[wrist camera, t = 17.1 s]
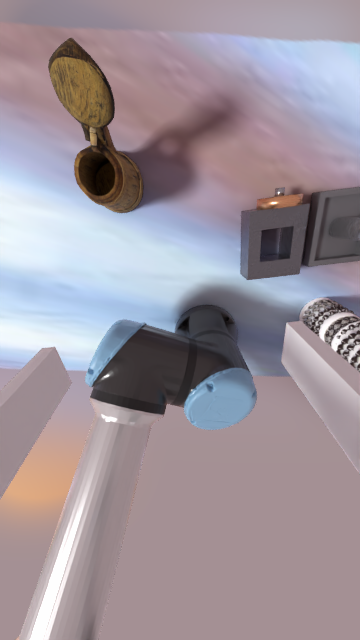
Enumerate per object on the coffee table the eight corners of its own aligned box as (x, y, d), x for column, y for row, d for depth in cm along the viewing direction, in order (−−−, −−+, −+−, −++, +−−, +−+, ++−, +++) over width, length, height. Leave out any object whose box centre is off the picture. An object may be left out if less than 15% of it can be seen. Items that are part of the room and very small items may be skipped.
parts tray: (354, 257, 44) (364, 260, 42) (301, 263, 44) (308, 266, 42) (373, 185, 38) (386, 183, 36) (312, 193, 38) (320, 192, 36)
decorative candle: (309, 291, 47) (427, 361, 25) (345, 300, 48) (487, 375, 26) (290, 325, 51) (377, 412, 29) (323, 333, 53) (431, 422, 30)
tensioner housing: (287, 267, 45) (308, 278, 38) (240, 273, 45) (252, 284, 38) (296, 187, 38) (324, 181, 31) (241, 194, 38) (256, 190, 31)
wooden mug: (148, 125, 34) (123, 48, 18) (140, 217, 40) (116, 220, 24) (92, 112, 33) (13, 18, 17) (93, 207, 39) (35, 204, 23)
